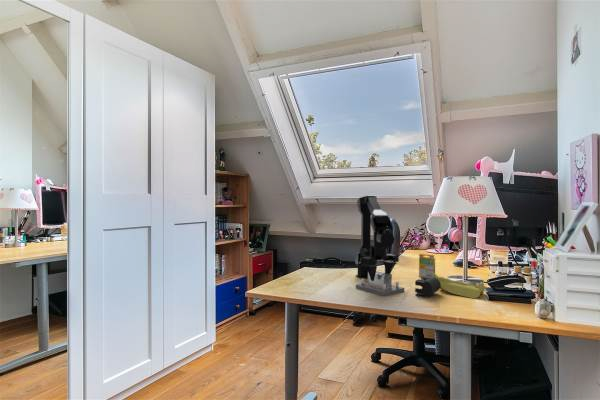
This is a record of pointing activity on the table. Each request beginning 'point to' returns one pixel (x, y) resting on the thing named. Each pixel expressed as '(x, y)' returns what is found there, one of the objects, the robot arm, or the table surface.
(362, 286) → the tray
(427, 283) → the end cap
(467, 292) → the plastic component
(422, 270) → the crayon box
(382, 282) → the drive
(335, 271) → the table surface
